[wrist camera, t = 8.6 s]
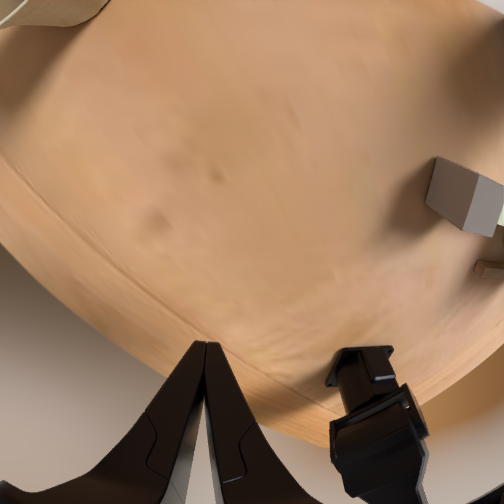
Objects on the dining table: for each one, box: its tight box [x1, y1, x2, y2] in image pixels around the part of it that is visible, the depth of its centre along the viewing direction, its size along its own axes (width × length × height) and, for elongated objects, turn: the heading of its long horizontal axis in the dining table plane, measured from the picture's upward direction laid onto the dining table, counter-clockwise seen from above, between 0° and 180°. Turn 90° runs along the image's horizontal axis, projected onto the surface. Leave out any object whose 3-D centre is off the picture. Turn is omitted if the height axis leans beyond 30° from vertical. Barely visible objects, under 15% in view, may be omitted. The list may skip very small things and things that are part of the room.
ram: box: [425, 156, 504, 244], centre depth 17 cm, size 8×15×5 cm, turn 83°
